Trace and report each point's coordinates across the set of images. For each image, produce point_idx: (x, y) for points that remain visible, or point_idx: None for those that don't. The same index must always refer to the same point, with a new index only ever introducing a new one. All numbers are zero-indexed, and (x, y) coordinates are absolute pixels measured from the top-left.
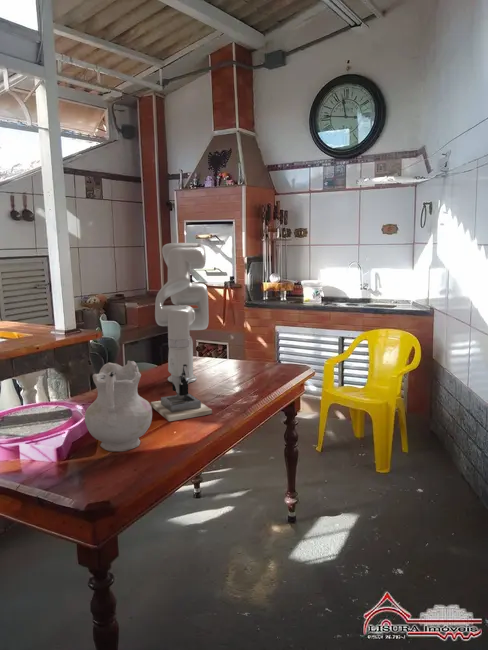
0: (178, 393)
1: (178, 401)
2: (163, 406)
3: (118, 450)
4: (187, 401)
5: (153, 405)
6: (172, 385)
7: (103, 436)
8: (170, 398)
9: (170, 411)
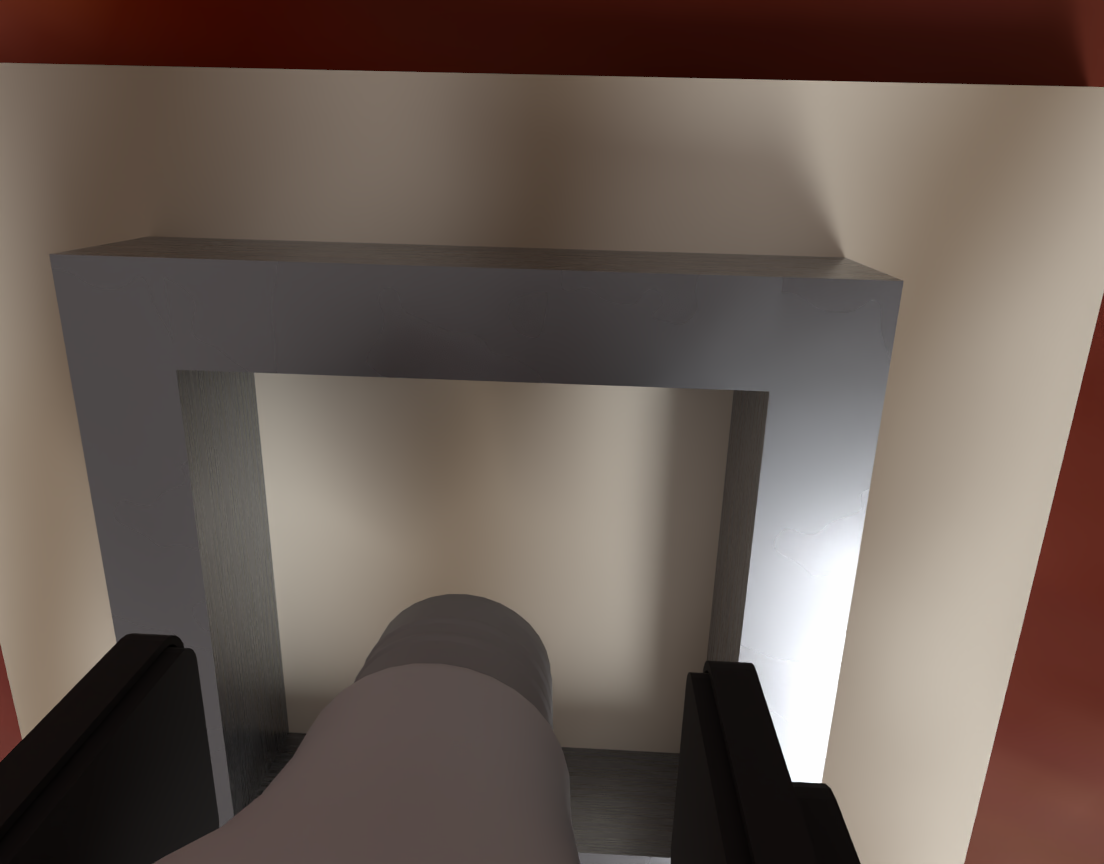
0: (368, 677)
1: (716, 620)
2: (643, 242)
3: None
4: (658, 756)
5: (927, 86)
6: (786, 781)
7: None
8: (752, 495)
9: (222, 239)
